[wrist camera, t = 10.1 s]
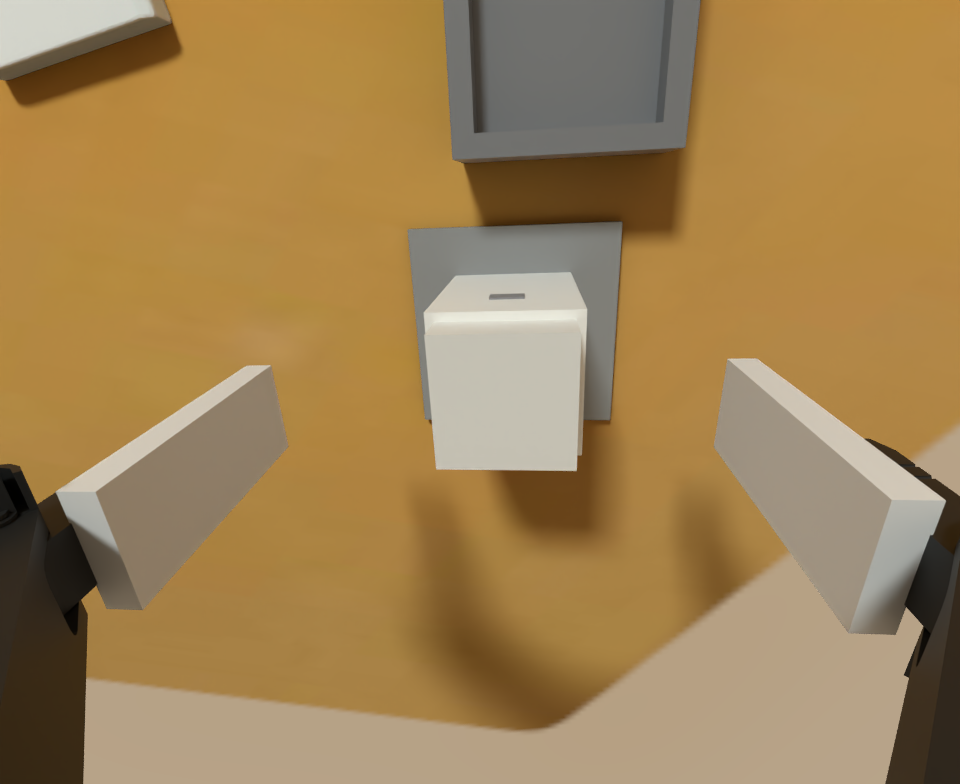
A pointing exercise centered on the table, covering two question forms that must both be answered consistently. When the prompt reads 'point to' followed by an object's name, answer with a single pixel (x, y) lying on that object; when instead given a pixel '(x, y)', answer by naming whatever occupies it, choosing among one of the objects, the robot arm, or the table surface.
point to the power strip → (568, 77)
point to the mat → (530, 251)
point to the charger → (507, 372)
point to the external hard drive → (69, 29)
